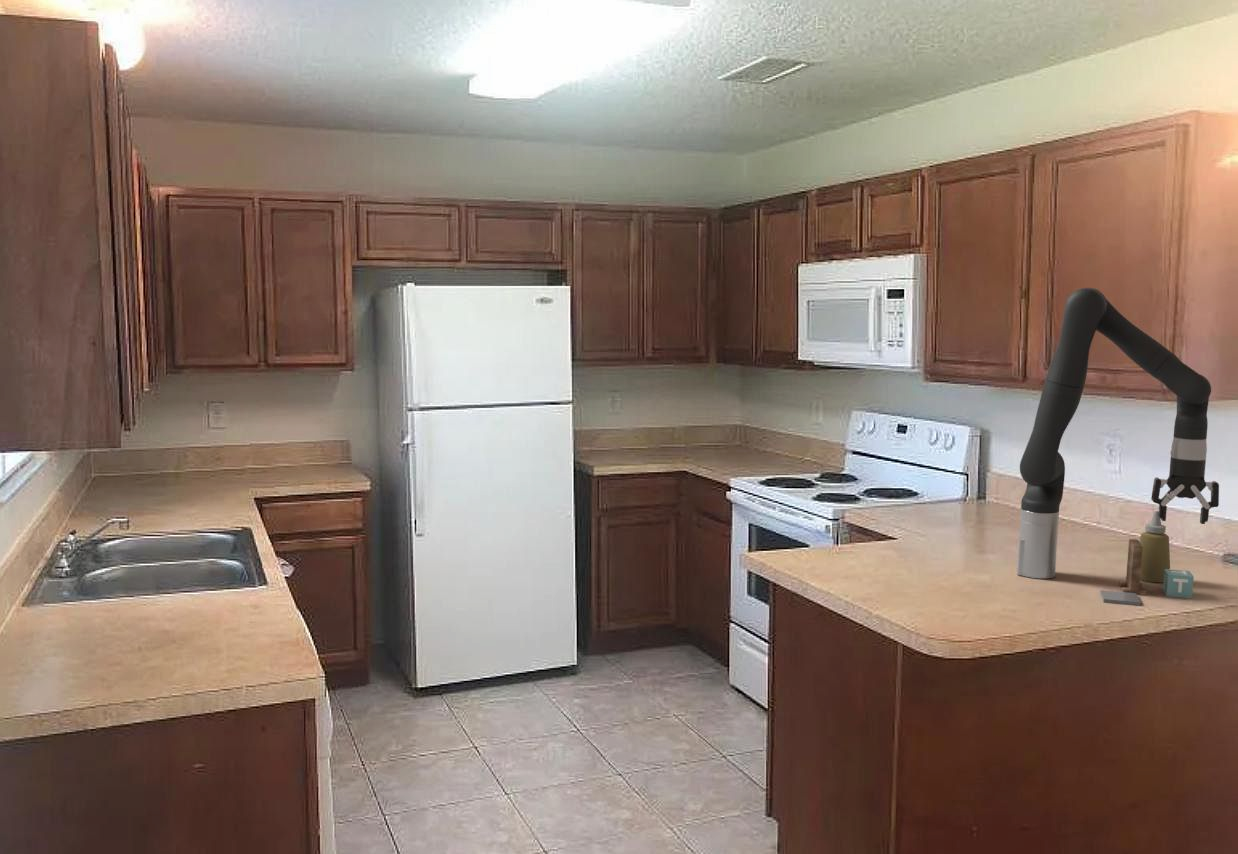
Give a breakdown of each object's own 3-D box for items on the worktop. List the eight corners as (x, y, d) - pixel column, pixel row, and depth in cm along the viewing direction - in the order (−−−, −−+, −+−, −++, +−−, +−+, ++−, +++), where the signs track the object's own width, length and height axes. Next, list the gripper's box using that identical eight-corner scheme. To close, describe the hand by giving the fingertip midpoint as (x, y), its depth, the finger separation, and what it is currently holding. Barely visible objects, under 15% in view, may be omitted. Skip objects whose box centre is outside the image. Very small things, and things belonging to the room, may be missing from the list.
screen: (1123, 593, 255) (1126, 545, 254) (1119, 584, 263) (1122, 538, 261) (1145, 595, 254) (1149, 547, 252) (1141, 586, 261) (1144, 540, 260)
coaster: (1103, 602, 248) (1103, 598, 248) (1099, 593, 255) (1100, 590, 255) (1140, 605, 245) (1140, 602, 245) (1135, 596, 253) (1135, 593, 253)
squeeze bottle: (1158, 575, 272) (1163, 508, 269) (1175, 584, 264) (1181, 514, 261) (1127, 575, 271) (1132, 508, 269) (1144, 584, 263) (1149, 514, 261)
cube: (1166, 596, 253) (1168, 573, 252) (1162, 590, 259) (1164, 568, 258) (1192, 598, 251) (1193, 576, 251) (1187, 592, 257) (1189, 570, 256)
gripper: (1158, 456, 250) (1153, 522, 252) (1225, 460, 245) (1219, 527, 247) (1153, 452, 257) (1147, 516, 259) (1217, 455, 252) (1212, 521, 254)
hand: (1182, 521), depth 253 cm, fingers open, 8 cm apart
